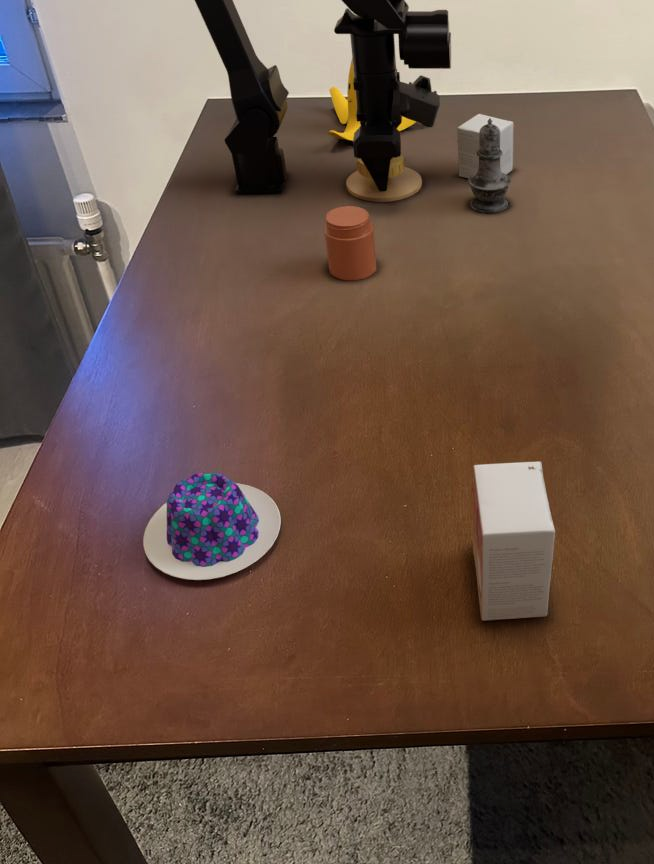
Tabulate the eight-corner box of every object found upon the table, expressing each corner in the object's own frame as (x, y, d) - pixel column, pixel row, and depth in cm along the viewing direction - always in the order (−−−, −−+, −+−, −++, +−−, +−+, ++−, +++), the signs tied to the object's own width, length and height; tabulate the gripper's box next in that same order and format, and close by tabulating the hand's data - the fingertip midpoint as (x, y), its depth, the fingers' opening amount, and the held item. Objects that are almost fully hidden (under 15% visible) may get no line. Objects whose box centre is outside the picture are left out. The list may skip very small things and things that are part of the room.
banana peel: (330, 154, 138) (316, 37, 126) (331, 107, 151) (319, -2, 139) (437, 149, 139) (433, 33, 127) (428, 103, 152) (424, -6, 141)
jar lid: (404, 159, 131) (404, 146, 130) (403, 179, 126) (402, 166, 125) (359, 160, 131) (358, 147, 130) (356, 179, 126) (355, 167, 125)
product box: (513, 171, 133) (515, 121, 128) (492, 186, 130) (492, 136, 125) (479, 161, 136) (479, 112, 131) (457, 176, 132) (456, 126, 127)
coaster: (344, 202, 126) (343, 198, 126) (348, 169, 134) (348, 165, 134) (421, 201, 126) (421, 197, 126) (422, 167, 134) (421, 163, 134)
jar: (327, 281, 111) (320, 228, 106) (330, 257, 115) (323, 205, 110) (376, 279, 111) (371, 226, 106) (377, 255, 115) (372, 203, 110)
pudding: (254, 594, 75) (243, 552, 71) (121, 575, 76) (103, 533, 73) (299, 496, 83) (291, 454, 80) (179, 481, 85) (165, 439, 81)
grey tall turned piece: (511, 196, 128) (513, 110, 119) (508, 215, 123) (510, 127, 115) (470, 194, 128) (470, 108, 120) (466, 213, 124) (465, 126, 115)
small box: (472, 551, 78) (471, 462, 71) (535, 547, 79) (541, 458, 71) (480, 623, 73) (480, 534, 65) (548, 618, 73) (555, 530, 66)
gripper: (435, 92, 112) (439, 209, 123) (434, 43, 126) (438, 152, 137) (347, 93, 112) (359, 210, 123) (355, 44, 125) (365, 154, 136)
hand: (383, 180), depth 130 cm, fingers closed on jar lid, 6 cm apart
